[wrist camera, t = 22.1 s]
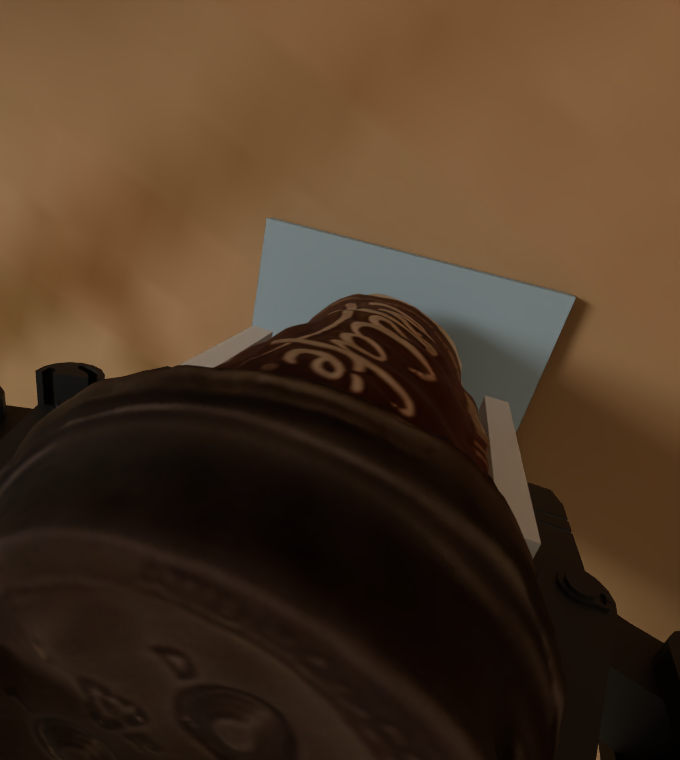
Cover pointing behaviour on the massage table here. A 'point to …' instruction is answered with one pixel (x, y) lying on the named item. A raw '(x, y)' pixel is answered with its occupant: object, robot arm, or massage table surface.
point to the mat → (418, 304)
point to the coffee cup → (274, 562)
